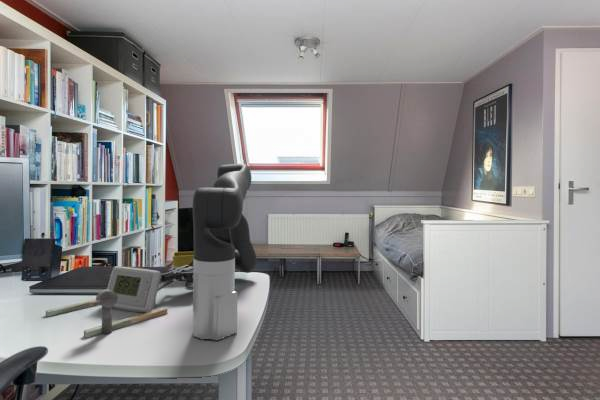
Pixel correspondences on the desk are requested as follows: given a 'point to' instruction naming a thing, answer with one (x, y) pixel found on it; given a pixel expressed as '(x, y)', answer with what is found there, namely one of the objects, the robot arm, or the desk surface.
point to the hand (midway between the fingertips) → (160, 278)
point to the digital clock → (134, 288)
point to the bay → (106, 313)
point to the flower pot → (182, 258)
